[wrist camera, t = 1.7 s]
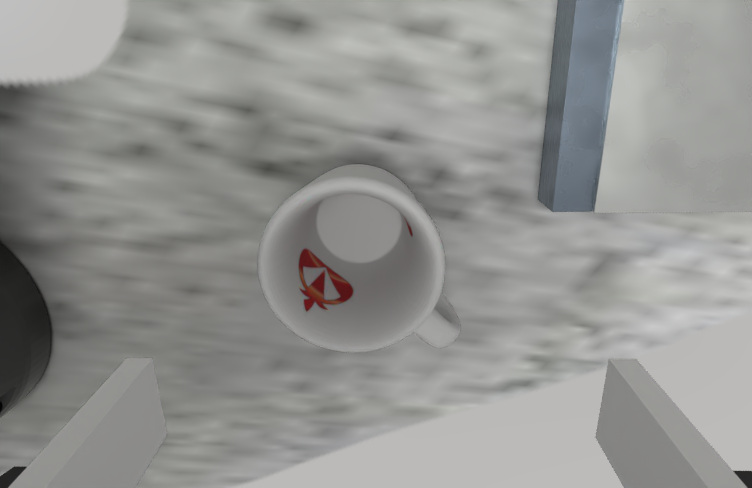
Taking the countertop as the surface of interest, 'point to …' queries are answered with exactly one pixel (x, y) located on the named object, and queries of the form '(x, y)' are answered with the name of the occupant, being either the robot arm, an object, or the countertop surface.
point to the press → (649, 107)
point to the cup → (356, 264)
